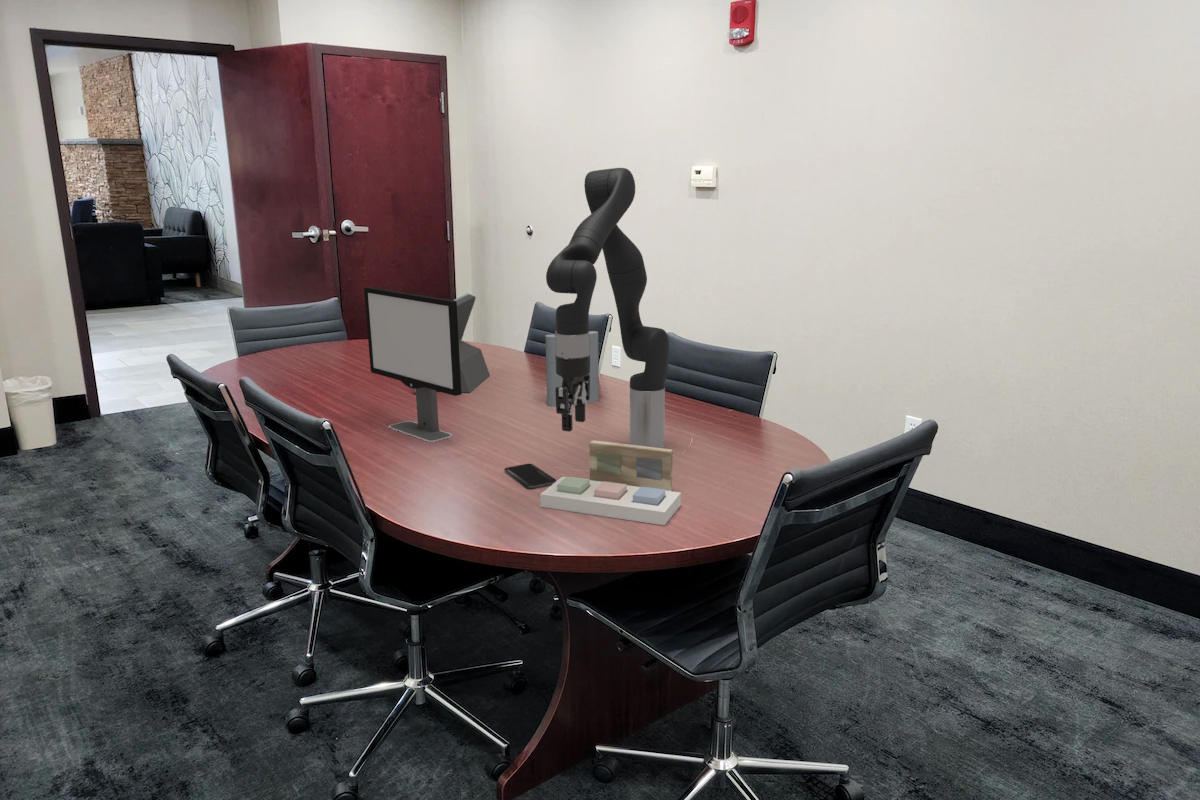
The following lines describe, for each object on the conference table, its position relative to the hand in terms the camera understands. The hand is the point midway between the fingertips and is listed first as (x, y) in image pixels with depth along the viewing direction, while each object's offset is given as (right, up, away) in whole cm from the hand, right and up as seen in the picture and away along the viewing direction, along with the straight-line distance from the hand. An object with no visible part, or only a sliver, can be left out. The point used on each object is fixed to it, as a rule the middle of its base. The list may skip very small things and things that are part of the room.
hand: (573, 425), depth 188 cm
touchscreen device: (-46, +11, +111) cm, 120 cm away
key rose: (+8, -16, +1) cm, 18 cm away
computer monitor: (-46, -4, +56) cm, 72 cm away
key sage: (0, -15, +4) cm, 16 cm away
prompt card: (+13, -15, +13) cm, 24 cm away
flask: (-3, +5, +85) cm, 85 cm away
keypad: (+8, -18, +2) cm, 20 cm away
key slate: (+17, -17, -2) cm, 24 cm away
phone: (-11, -14, +20) cm, 27 cm away
